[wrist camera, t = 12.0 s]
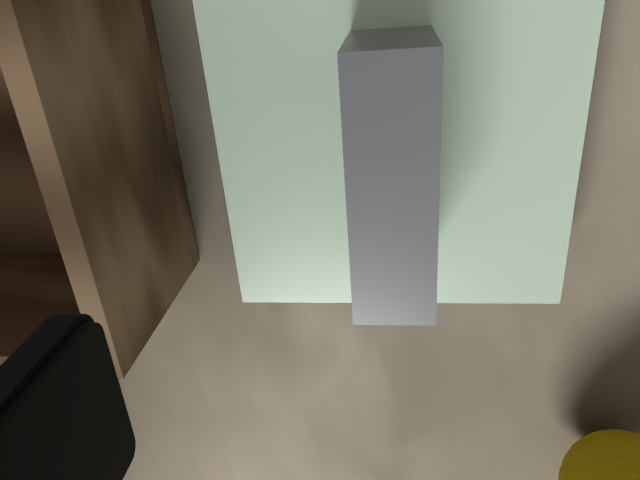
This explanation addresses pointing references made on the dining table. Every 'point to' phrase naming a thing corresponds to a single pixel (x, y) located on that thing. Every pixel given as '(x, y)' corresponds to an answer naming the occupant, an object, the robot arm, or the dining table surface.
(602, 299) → the dining table surface
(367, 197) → the lid
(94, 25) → the walnut box
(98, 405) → the robot arm
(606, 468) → the lemon
